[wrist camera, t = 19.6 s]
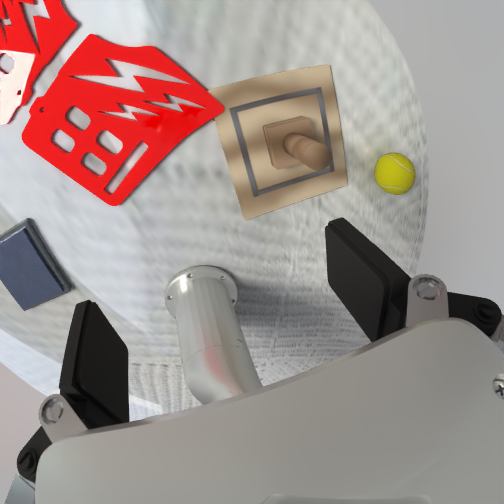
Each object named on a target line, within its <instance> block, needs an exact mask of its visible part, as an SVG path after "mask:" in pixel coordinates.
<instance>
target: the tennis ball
mask: <svg viewBox="0 0 504 504" xmlns="http://www.w3.org/2000/svg"><path fill="white" fill-rule="evenodd" d="M375 178H376V181H377V183H378V185H379V186H380V187H381V188H382V189H383V190H384V191H386V192H388V193H390V194H395V195H400V194H404V193H406V192H407V191H409V190H410V189H411V187H412V186H413V184H414V181H415V169H414V166H413V164H412V163H411V161H410V160H409V159H408V158H406V157H405V156H403V155H401V154H398V153H388V154H385V155H384V156H382V157H381V158H380V159H379V160H378V162H377V164H376V167H375Z"/></svg>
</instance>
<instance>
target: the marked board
mask: <svg viewBox="0 0 504 504" xmlns="http://www.w3.org/2000/svg"><path fill="white" fill-rule="evenodd" d="M207 92H208V93H209V94H210V95H212V96H213V97H214V98H215V99H216V100H217V101H218V102H219V103H220V104H221V105H222V106H223V107H224V111H223V112H222V113H221V114H219V115H217V116H216V117H214V120H215V123H216V127H217V130H218V133H219V136H220V140H221V143H222V146H223V150H224V153H225V156H226V160H227V163H228V166H229V170H230V173H231V176H232V180H233V183H234V186H235V190H236V193H237V196H238V200H239V203H240V206H241V210H242V213H243V216H244V219H245V220H247V219H250V218H253V217H256V216H259V215H261V214H264V213H267V212H270V211H273V210H276V209H278V208H281V207H284V206H287V205H290V204H293V203H296V202H299V201H302V200H304V199H307V198H310V197H313V196H316V195H319V194H322V193H325V192H328V191H331V190H334V189H337V188H340V187H343V186H346V185H348V183H347V174H346V165H345V156H344V148H343V141H342V134H341V127H340V120H339V114H338V108H337V102H336V96H335V91H334V85H333V80H332V75H331V70H330V65H322V66H315V67H308V68H302V69H296V70H290V71H285V72H280V73H275V74H270V75H265V76H261V77H257V78H252V79H248V80H244V81H240V82H236V83H232V84H229V85H225V86H221V87H218V88H215V89H211V90H208V91H207ZM299 116H304V117H307V118H310V124H311V129H312V134H313V140H315V141H317V142H319V143H321V144H324V145H326V146H327V147H328V148H329V149H330V151H331V154H332V159H331V162H330V164H329V166H328V167H327V168H326V169H324V170H322V171H315V170H312V169H311V168H309V167H308V166H306V165H305V164H303V163H299V164H296V165H292V166H289V167H286V168H283V169H279V170H277V169H276V168H275V167H273V166H272V164H271V160H270V156H269V152H268V147H267V143H266V139H265V135H264V131H263V127H262V126H264V125H268V124H271V123H275V122H279V121H283V120H287V119H291V118H295V117H299Z"/></svg>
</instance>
